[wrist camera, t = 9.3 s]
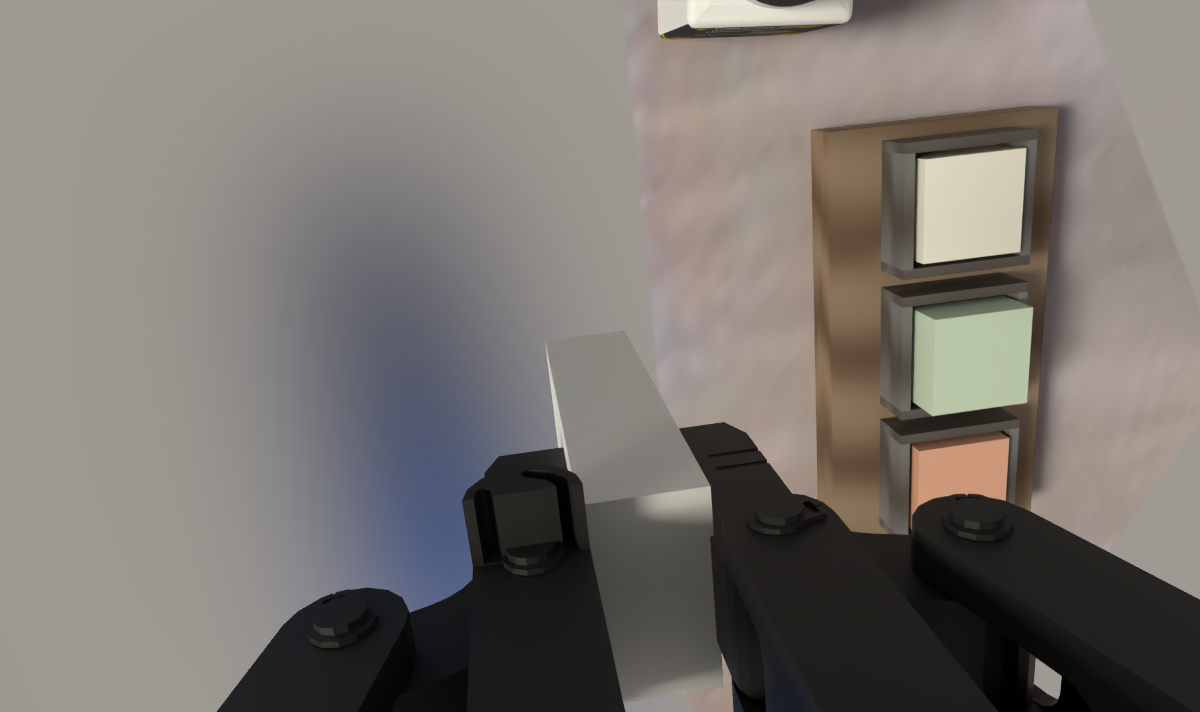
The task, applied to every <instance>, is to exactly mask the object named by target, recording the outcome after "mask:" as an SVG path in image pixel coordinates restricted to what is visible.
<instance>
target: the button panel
mask: <svg viewBox="0 0 1200 712" xmlns="http://www.w3.org/2000/svg"><path fill="white" fill-rule="evenodd" d="M1058 109H1059V107H1030V106H1028V107H1019V108H1010V109H1001V110H992V111H983V112H974V113H964V114H955V115H946V116H937V117H928V118H919V119H910V120H901V121H892V122H883V123H873V124H864V125H855V126H846V127H837V128H828V129H819V130H811V152H812V205H813V258H814V311H815V365H816V418H817V471H818V500H819V501H822V502H823V503H825V504H826V505H827V506H829V507H830V508H831V509H833V510H834V511H835V512H836V513H837V515H838V516H839V517H840V518H841V519H842V521H843V522H844V523H845V524H846V526H847V527H848V528H849V529H850V530H851V531H853V532H861V533H873V534H905V535H912V529H911V528H910V527H909V526H908V517H909V465H910V444H911V443H918V442H925V441H932V440H939V439H946V438H953V437H960V436H967V435H974V434H981V433H988V432H995V431H999V432H1001V433H1002V434H1004V435H1005V436H1007V437H1008V438H1009V453H1008V470H1007V487H1006V501H1007V502H1009V503H1012V504H1014V505H1017V506H1020V507H1022V508H1025V509H1027V510H1028V511H1030V510H1031V496H1032V481H1033V467H1034V453H1035V438H1036V424H1037V410H1038V395H1039V381H1040V367H1041V352H1042V338H1043V324H1044V309H1045V295H1046V281H1047V266H1048V252H1049V238H1050V223H1051V209H1052V195H1053V180H1054V166H1055V152H1056V137H1057V123H1058ZM994 145H999V146H1010V147H1021V148H1026V163H1025V180H1024V197H1023V214H1022V231H1021V247H1020V252H1016V253H1008V254H1000V255H992V256H984V257H976V258H968V259H960V260H952V261H944V262H936V263H928V264H921V263H919V262H916V261H914V260H913V253H914V200H915V154H923V153H932V152H941V151H950V150H958V149H967V148H976V147H985V146H994ZM997 296H1005V297H1008V298H1011V299H1013V300H1016V301H1018V302H1021V303H1023V304H1026V305H1029V306H1031V307H1033V318H1032V333H1031V348H1030V364H1029V379H1028V394H1027V403H1022V404H1014V405H1007V406H1000V407H993V408H986V409H979V410H972V411H965V412H958V413H951V414H944V415H937V416H932V415H930V414H929V413H928V412H926V411H925V410H923V409H922V408H921V407H919V406H918V405H917V404H915V403H914V402H912V401H911V359H912V307H920V306H928V305H935V304H943V303H951V302H958V301H966V300H974V299H982V298H989V297H997Z"/></svg>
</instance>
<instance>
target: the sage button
mask: <svg viewBox="0 0 1200 712" xmlns="http://www.w3.org/2000/svg"><path fill="white" fill-rule="evenodd" d="M1032 318H1033V307H1031V306H1029V305H1026V304H1023V303H1021V302H1018V301H1016V300H1013V299H1011V298H1008V297H1005V296H997V297H989V298H982V299H974V300H966V301H958V302H951V303H943V304H935V305H928V306H920V307H912V359H911V401H912V402H914V403H915V404H917V405H918V406H919V407H921V408H922V409H923V410H925V411H926V412H928V413H929V414H930V415H932V416H937V415H944V414H951V413H958V412H965V411H972V410H979V409H986V408H993V407H1000V406H1007V405H1014V404H1022V403H1027V394H1028V379H1029V364H1030V348H1031V333H1032Z"/></svg>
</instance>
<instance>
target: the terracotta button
mask: <svg viewBox="0 0 1200 712" xmlns="http://www.w3.org/2000/svg"><path fill="white" fill-rule="evenodd" d="M1008 453H1009V438H1008V437H1007V436H1005V435H1004V434H1002V433H1001V432H999V431H995V432H988V433H981V434H974V435H967V436H960V437H953V438H946V439H939V440H932V441H925V442H918V443H911V444H910V465H909V517H908V526H909V527H910V528H911V529H912V515H913V513H914V512H915V510H916V509H917V507H918V506H919V505H921V504H923V503H925V502H927V501H929V500H931V499H933V498H939V497H944V496H950V495H953V494H965V495H968V494H980V495H984V496H985V497H990V498H995V499H1001V500H1004V501H1006V487H1007V470H1008Z"/></svg>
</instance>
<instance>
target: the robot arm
mask: <svg viewBox="0 0 1200 712" xmlns="http://www.w3.org/2000/svg"><path fill="white" fill-rule="evenodd" d="M545 344H546V351H547V360H548V367H549V375H550V384H551V392H552V400H553V407H554V415H555V424H556V432H557V438H558V439H557V440H558V448H555V449H548V450H541V451H534V452H527V453H520V454H513V455H505V456H499V457H498V458H497V459H496V460H495V462H494V463H493V464H492V465H491V466H490V467H489V468H488V470H487V471H486V472H485V478H482V479H480V480H479V481H478V482H477V483H475V484H474V485H473V486H471V487H470V488H469V489H467V491H466V493H465V495H464V498H463V500H462V504H463V509H464V515H465V522H466V527H467V533H468V539H469V545H470V551H471V557H472V563H473V580H471V581H470V582H469V583H468V584H467V585H466V586H465V587H464V588H463V589H461V590H460V591H458V592H456V593H455V594H453V595H452V596H450V597H448V598H446V599H444V600H442V601H439V602H437V603H435V604H432V605H430V606H427V607H424V608H422V609H419V610H416V611H413V612H411V613H409V610H408V608H407V606H406V604H405V602H404V600H403V598H402V597H400V596H398V595H396V594H395V593H393V592H391V591H389V590H383V589H374V588H362V589H354V590H344V591H339V592H336V594H330V595H327V596H325V597H322V598H320V599H319V600H317V601H315V602H313V603H312V604H310V605H308V606H306V607H305V608H303V609H301V610H299V611H298V612H297V613H296V614H295V615H294V616H293V617H291V618H290V619H289V620H288V621H287V622H286V623H285V624H284V625H283V626H282V627H281V628H280V630H279V631H278V633H277V634H276V635H275V636H274V638H273V639H272V640H271V642H270V643H269V644H268V645H267V647H266V648H265V650H264V651H263V652H262V653H261V655H260V656H259V657H258V659H257V660H256V661H255V662H254V664H253V665H252V666H251V668H250V669H249V670H248V672H247V673H246V674H245V675H244V677H243V678H242V679H241V681H240V682H239V683H238V685H237V686H236V687H235V689H234V690H233V691H232V692H231V694H230V695H229V697H228V698H227V699H226V700H225V702H224V703H223V704H222V706H221V707H220V708H219V709H218V711H217V712H625V709H624V704H623V703H628V702H634V701H640V700H645V699H651V698H657V697H663V696H669V695H675V694H681V693H687V692H693V691H699V690H705V689H711V688H717V687H723V672H722V656H721V652H722V654H723V657H724V659H725V662H726V664H727V666H728V669H729V671H730V674H731V676H732V693H733V709H734V712H1200V600H1199V599H1198V598H1196V597H1193V596H1192V595H1190V594H1188V593H1186V592H1184V591H1182V590H1180V589H1178V588H1176V587H1174V586H1173V585H1170V584H1168V583H1167V582H1165V581H1163V580H1161V579H1159V578H1157V577H1155V576H1153V575H1151V574H1149V573H1148V572H1145V571H1144V570H1142V569H1140V568H1138V567H1136V566H1134V565H1132V564H1130V563H1128V562H1126V561H1124V560H1123V559H1121V558H1118V557H1117V556H1115V555H1113V554H1111V553H1109V552H1107V551H1105V550H1103V549H1101V548H1100V547H1098V546H1096V545H1094V544H1092V543H1090V542H1088V541H1086V540H1084V539H1082V538H1080V537H1078V536H1076V535H1075V534H1073V533H1071V532H1069V531H1067V530H1065V529H1063V528H1061V527H1059V526H1057V525H1055V524H1053V523H1051V522H1050V521H1048V520H1046V519H1044V518H1042V517H1040V516H1038V515H1036V514H1034V513H1032V512H1030V511H1028V510H1027V509H1025V508H1022V507H1020V506H1017V505H1014V504H1012V503H1009V502H1007V501H1004V500H1001V499H995V498H990V497H985V496H984V495H980V494H968V495H965V494H953V495H950V496H944V497H939V498H933V499H931V500H929V501H927V502H925V503H923V504H921V505H919V506H918V507H917V509H916V510H915V512H914V513H913V515H912V535H905V534H873V533H861V532H853V531H851V530H850V529H849V528H848V527H847V526H846V524H845V523H844V522H843V521H842V519H841V518H840V517H839V516H838V515H837V513H836V512H835V511H834V510H833V509H831V508H830V507H829V506H827V505H826V504H825V503H823V502H822V501H819V500H816V499H813V498H811V497H808V496H805V495H799V494H792V493H791V492H790V490H789V489H788V488H787V486H786V485H785V484H784V482H783V481H782V480H781V478H780V477H779V476H778V474H777V473H776V472H775V470H774V469H773V468H772V466H771V465H770V464H769V463H767V460H766V458H765V457H764V456H763V454H762V453H761V452H760V451H758V448H757V446H756V445H755V444H754V442H753V441H752V440H751V438H750V437H749V436H748V434H747V433H745V432H743V431H741V430H739V429H737V428H735V427H733V426H731V425H729V424H727V423H725V422H722V423H715V424H708V425H701V426H694V427H687V428H680V429H679V428H678V426H677V425H676V423H675V421H674V419H673V417H672V416H671V414H670V412H669V410H668V408H667V407H666V405H665V403H664V401H663V399H662V398H661V396H660V394H659V392H658V390H657V388H656V387H655V385H654V383H653V382H652V380H651V378H650V376H649V374H648V372H647V370H646V369H645V367H644V366H643V363H642V361H641V360H640V358H639V356H638V354H637V353H636V351H635V349H634V347H633V345H632V343H631V342H630V340H629V338H628V336H627V334H626V333H625V331H618V332H611V333H603V334H595V335H588V336H580V337H572V338H564V339H557V340H549V341H545ZM1036 658H1037V659H1039V660H1040V661H1041V662H1043V663H1044V664H1046V665H1047V666H1048V667H1050V668H1051V669H1053V670H1054V671H1055V672H1057V673H1059V674H1060V675H1061V676H1062V680H1061V691H1060V696H1059V699H1056V698H1054V697H1052V696H1050V695H1048V694H1046V693H1045V692H1044V691H1042V690H1041V689H1040V688H1039V687H1037V686H1036V685H1034V673H1035V659H1036Z"/></svg>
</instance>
